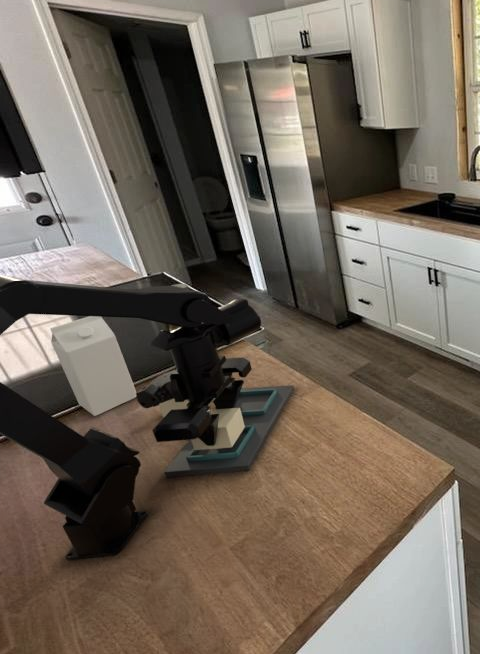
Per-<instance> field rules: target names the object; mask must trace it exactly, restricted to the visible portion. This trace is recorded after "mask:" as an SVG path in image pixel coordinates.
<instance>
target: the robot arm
mask: <svg viewBox="0 0 480 654" xmlns="http://www.w3.org/2000/svg"><path fill="white" fill-rule="evenodd" d="M28 315H45V316H73V317H75V316H76V317H89V316H98V317H102V318H128V319H129V318H130V319H132V318H133V319H141V320H145V321H151V322H155V323H160V324H165V325H168V326H169V325H174V326H179V328H177V329H175V330H172V331H170V330H169V331H168V330H164V329H160V330H159V332H158V334H157V336H155V337H154V338H153V339H152V341H151V342H150V343H149V346H150V347H152V348H154V349H159V350H162V351H166V352H167V351H170V354H171V357H172V359H173V363H174V366H175V369H173V370H171V371H167V372H165V373H162V374H160V375H158V376H157V377H155V378H154V379H152V381H151V382H149V383H148V384H147V385H146V386H145V385H144V386H142V387H141V388H140V389H139V390H138V391H136V392H137V393H136V396H137V397H136V400H137V403H138V404H139V405H140V406H141V407H142V408H143V409H150V408H153V407H154V408H155V407H159V404H160V403H163V402H166V401H168V400H171V399H175V402H184V401H185V400H189V403H188V404H187V405H186V406H187V407H188V408H187V409H176V410H171V411H170V412H169V413H168V414H167V415H166V416H165V417H162V419H161V420H160V421H159V422H158V423H157V424H156V425H155V426H154V427H153V428H152V429H151V431H152V433H153V436H154V439H155V441H156V443H163V442H179V441H189V440H193V439H196V438H199V439H200V440H201V441H203V442H204V443H205V444H206V445H207V446H214V445H215V443H216V437H217V429H218V421H219V414H211V412H210V410H212V409H211V405H212V403H213V404H214V408H215V407H216V409H229V408H235V406H236V403H237V400H238V397H239V394H240V391H241V388H243V385H244V384H245V380H244V379H236V377H234V376H233V373H238V376H239V377H240V378H247V376H248V375H249V374H250V372H251V371H252V365H251V361H250V360H248V359H247V358H245V357H229V358H228V357H227V358H226V356H225V355H219V351H218V347H217V345H216V344H220V345H222V346H230V345H232V344H234V343H236V342H238V341H241V339H244V338H246V337H247V336H249V335H252V334H253V333H255V332H257V331H259V330H260V329H261V326H262V320H261V317H260V316H259V315H258V312H257V311H256V310H255V309H254V308H253V307H252V306H251V305H249V301H248V299H246V298H240V297H237V298H235V299H233V300H231V301H230V302H228V303H226V304H224V305H221V306H218V307H217V306H215V305H213V304H212V300H211V298H210V297H209V295H208V294H207V293H205V292H203V291H198V290H194V289H185V288H181V287H177V286H172V285H158V286H157V285H156V286H147V287H141V288H129V289H128V288H119V287H108V286H107V287H106V286H99V285H98V286H96V285H86V284H77V283H76V284H74V283H63V282H54V281H43V280H32V279H22V278H19V277H14V276H9V275H0V336H1V335H2V334H3V333H5V332H6V331H7V330H8V329H9V328H10V327H12V326H13V325H14V324H15V323H16V322H17V321H19V320H21V319H23V318H24V317H26V316H28ZM0 435H1V436H3V437H5V438H6V439H8V440H10V441H12V442H14V443H16V444H17V445H19V446H20V447H22V448H24V449H26V450H27V451H30V452H31V453H33V454H35V455H37V456H38V457H40V458H42V459H43V461H44V462H45V464H46V465H47V467H48V469H49V470H50V472H52V473H53V474H54V475H55V476H56V477H57V478H58V479H57V480H56V481H55V483H54V485H53V487H52V488H51V490H50V492H48V494H47V496H46V498H45V499H44V501H43V504H44V506H47V507H49V508H50V509H53V510H55V511H56V512H58V513H60V514H62V515H64V516H65V523H64V524H62V529H63V530H64V532H65V534H66V536H67V538H68V540H69V541H70V544H71V546H72V547H71V548H70V550H69V551H68V552H67V553H66V554H65V556H64V559H65V560H66V561H76V560H84V559H93V558H103V557H104V558H105V557H113V556H116V555H118V554H120V552H122V550H123V549H124V547H125V546H126V545H127V543H128V542H129V541H130V539H131V538H132V537H133V536H134V534H135V533H136V531H137V530H138V529H139V528H140V526H141V525H142V523H143V522H144V521H145V519H147V516H148V515H149V513H148V511H147V510H139V511H137V508H136V506H135V503H134V497H135V490H136V489H135V488H136V479H137V477H138V474H139V471H140V468H141V466H142V464H141V461H140V459H138V457H136V456H138V455H139V454H140V451H139V450H137V449H134V448H131V447H129V446H127V445H126V444H125V442H124V441H123V440H122V439H121V438H119V437H118V436H114V435H112V434H109V433H107V432H104V431H102V430H101V429H97V428H95V427H93V426H92V427H90V429H88V430H87V432H85V434H84V435H82V434H80V433H78V432H77V431H76V430H74V429H73V428H71V427H69V426H68V425H66V423H63V422H62V421H60V420H59V419H57V418H56V417H54V416H53V415H51V414H50V413H48V412H47V411H45V410H44V409H43V408H40V407H39V406H37V405H36V404H35V403H33V402H31V401H30V400H28V399H26V397H24V396H22V395H21V394H19V393H17V392H16V391H15V390H13V389H12V388H10V387H9V386H8V385H6V384H4V383H2V382H1V381H0Z"/></svg>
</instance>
